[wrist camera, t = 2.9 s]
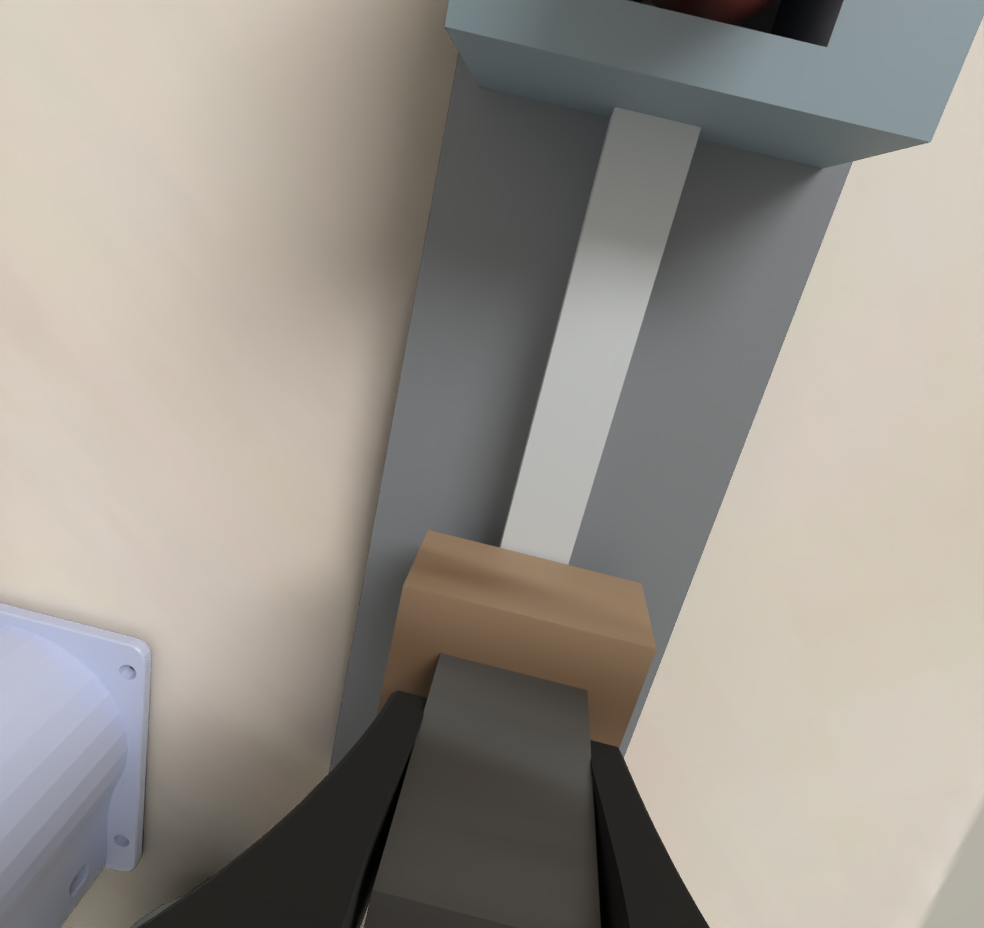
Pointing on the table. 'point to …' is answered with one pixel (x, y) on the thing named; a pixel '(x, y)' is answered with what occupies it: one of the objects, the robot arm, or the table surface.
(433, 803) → the carriage
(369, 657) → the rail bed
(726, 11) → the plunger
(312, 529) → the table surface
